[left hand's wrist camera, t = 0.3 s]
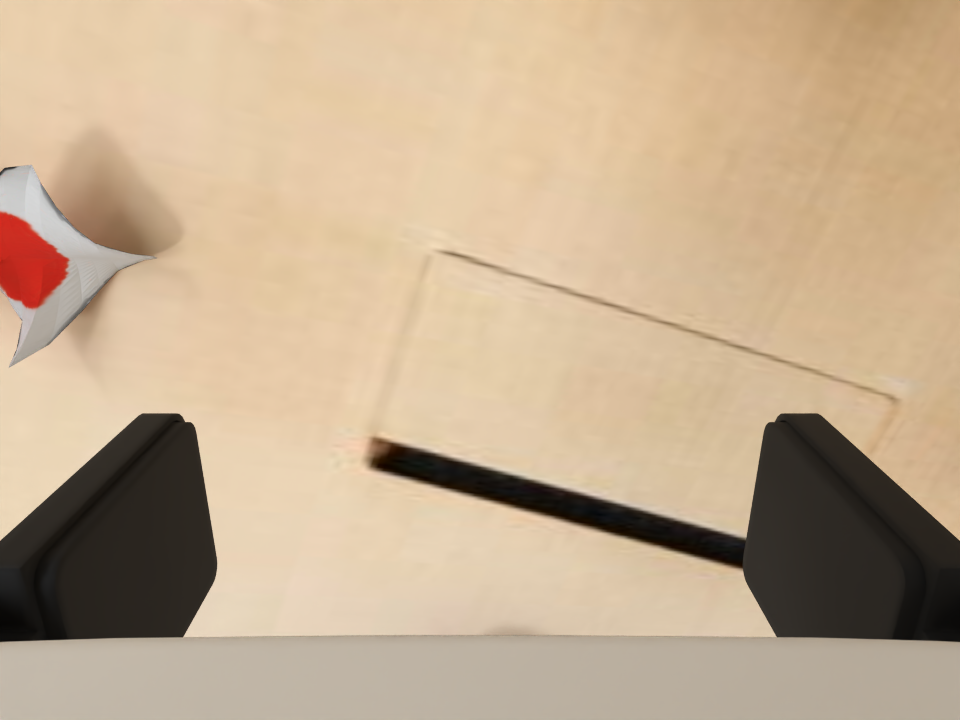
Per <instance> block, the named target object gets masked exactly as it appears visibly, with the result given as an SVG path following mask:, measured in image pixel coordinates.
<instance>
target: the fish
mask: <svg viewBox="0 0 960 720" xmlns="http://www.w3.org/2000/svg"><path fill="white" fill-rule="evenodd" d="M155 258H156V257H154V256H146V255H136V254H130V253H126V252H122V251H119V250H115V249H112V248H108V247H105V246H102V245H99V244H95V243H94V242H92V241H91V240H90V239H89V238H87V237H86V236H85V235H83V234H82V233H81V232H79V231H78V230H77V229H75V228H74V226H73V225H72V224H71V223H70V222H69V221H68V220H67V219H66V217H65V216H64V215H63V214H62V213H61V212H60V211H59V210H58V208H57V207H56V206H55V204H54V203H53V201H52V200H51V198H50V197H49V195H48V194H47V192H46V190H45V189H44V187H43V186H42V184H41V182H40V180H39V178H38V176H37V174H36V172H35V171H34V169H33V167H32V165H27V166H17V167H8V168H4V169H3V170H2V171H1V172H0V290H1V291H2V292H3V293H4V294H5V295H6V296H7V298H8V300H9V302H10V303H11V305H12V307H13V309H14V310H15V311H16V313H17V314H18V316H19V317H20V319H21V320H22V325H21V330H20V335H19V340H18V345H17V350H16V352H15V354H14V357H13V359H12V361H11V363H10V366H9V367H11V366H13V365H14V364H16V363H18V362H20V361H21V360H23V359H25V358H26V357H28V356H30V355H32V354H33V353H35V352H37V351H39V350H40V349H42V348H44V347H45V346H47V345H49V344H50V343H51V342H52V341H53V340H54V339H55V338H56V337H57V336H58V335H59V334H60V333H61V332H62V331H63V330H64V329H65V328H66V327H67V326H68V325H69V324H70V323H71V322H72V321H73V320H74V319H75V318H76V317H77V316H78V315H79V314H80V313H81V312H82V310H83V309H84V308H85V307H86V306H87V305H88V303H89V302H90V301H91V300H92V299H93V297H94V296H95V295H96V294H97V293H98V291H99V290H100V289H101V288H102V287H103V286H104V285H105V284H106V283H107V282H108V281H109V280H110V279H111V277H112V276H113V275H114V274H115V273H116V272H117V271H118V270H121V269H123V268H126V267H128V266H131V265H133V264H136V263H138V262H141V261H143V260H148V259H155Z"/></svg>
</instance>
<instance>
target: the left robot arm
mask: <svg viewBox="0 0 960 720" xmlns="http://www.w3.org/2000/svg"><path fill="white" fill-rule="evenodd" d="M216 571H217V557H216V551H215V545H214V538H213V532H212V526H211V520H210V514H209V508H208V502H207V496H206V489H205V483H204V477H203V471H202V465H201V459H200V453H199V447H198V440H197V434H196V430H195V427H194V425H193V424H192V423H191V422H185V421H184V419H183V417H182V416H181V415H180V414H141V415H139V416H138V417H137V418H136V419H134V420H133V421H132V422H131V423H130V424H129V425H128V426H127V427H126V428H125V429H123V430H122V431H121V432H120V433H119V434H118V435H117V436H116V437H115V438H113V439H112V440H111V441H110V442H109V443H108V444H107V445H106V446H105V447H104V448H102V449H101V450H100V451H99V452H98V453H97V454H96V455H95V456H94V457H92V458H91V459H90V460H89V461H88V462H87V463H86V464H85V465H84V466H83V467H81V468H80V469H79V470H78V471H77V472H76V473H75V474H74V475H73V476H71V477H70V478H69V479H68V480H67V481H66V482H65V483H64V484H63V485H62V486H60V487H59V488H58V489H57V490H56V491H55V492H54V493H53V494H52V495H50V496H49V497H48V498H47V499H46V500H45V501H44V502H43V503H42V504H41V505H39V506H38V507H37V508H36V509H35V510H34V511H33V512H32V513H31V514H29V515H28V516H27V517H26V518H25V519H24V520H23V521H22V522H21V523H20V524H18V525H17V526H16V527H15V528H14V529H13V530H12V531H11V532H10V533H8V534H7V535H6V536H5V537H4V538H3V539H2V540H1V541H0V720H960V541H959V540H958V539H957V538H956V537H955V536H954V535H953V534H952V533H950V532H949V531H948V530H947V529H946V528H945V527H944V526H943V525H942V524H940V523H939V522H938V521H937V520H936V519H935V518H934V517H933V516H932V515H931V514H929V513H928V512H927V511H926V510H925V509H924V508H923V507H922V506H921V505H919V504H918V503H917V502H916V501H915V500H914V499H913V498H912V497H911V496H910V495H908V494H907V493H906V492H905V491H904V490H903V489H902V488H901V487H900V486H898V485H897V484H896V483H895V482H894V481H893V480H892V479H891V478H890V477H889V476H887V475H886V474H885V473H884V472H883V471H882V470H881V469H880V468H879V467H877V466H876V465H875V464H874V463H873V462H872V461H871V460H870V459H869V458H868V457H866V456H865V455H864V454H863V453H862V452H861V451H860V450H859V449H858V448H856V447H855V446H854V445H853V444H852V443H851V442H850V441H849V440H848V439H847V438H845V437H844V436H843V435H842V434H841V433H840V432H839V431H838V430H837V429H835V428H834V427H833V426H832V425H831V424H830V423H829V422H828V421H827V420H826V419H824V418H823V417H822V416H821V415H819V414H780V415H779V416H778V417H777V419H776V421H775V422H769V423H768V424H767V425H766V427H765V430H764V434H763V440H762V447H761V453H760V459H759V465H758V471H757V477H756V483H755V489H754V496H753V502H752V508H751V514H750V520H749V526H748V532H747V538H746V545H745V551H744V557H743V571H744V576H745V580H746V582H747V585H748V586H749V588H750V590H751V592H752V593H753V595H754V597H755V599H756V601H757V602H758V604H759V606H760V608H761V610H762V611H763V613H764V615H765V617H766V618H767V620H768V622H769V624H770V626H771V627H772V629H773V631H774V633H775V635H776V636H777V637H687V636H574V635H375V636H265V637H183V636H184V635H185V633H186V631H187V629H188V627H189V626H190V624H191V622H192V620H193V618H194V617H195V615H196V613H197V611H198V610H199V608H200V606H201V604H202V602H203V601H204V599H205V597H206V595H207V593H208V592H209V590H210V588H211V586H212V585H213V582H214V580H215V576H216Z"/></svg>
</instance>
